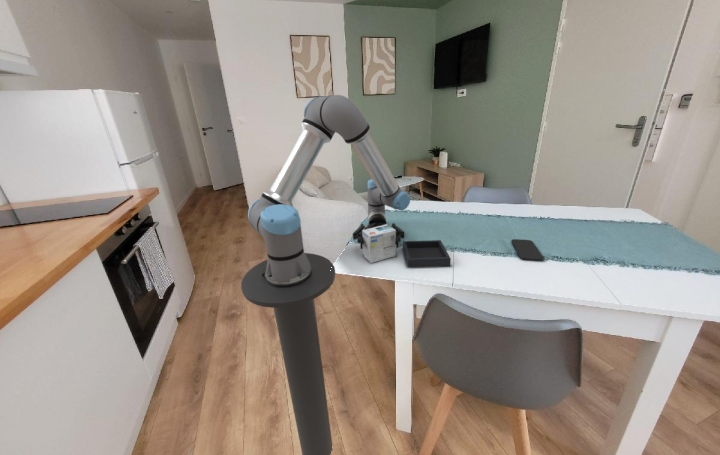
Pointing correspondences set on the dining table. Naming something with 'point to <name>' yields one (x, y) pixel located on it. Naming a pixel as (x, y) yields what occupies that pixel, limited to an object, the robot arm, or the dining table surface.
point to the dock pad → (426, 254)
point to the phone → (527, 250)
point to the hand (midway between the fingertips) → (379, 244)
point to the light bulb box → (379, 243)
